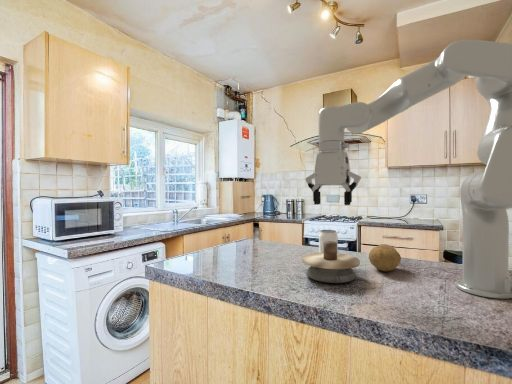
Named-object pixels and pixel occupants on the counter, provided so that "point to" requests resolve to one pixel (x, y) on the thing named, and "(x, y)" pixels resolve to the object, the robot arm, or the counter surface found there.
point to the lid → (331, 258)
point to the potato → (384, 257)
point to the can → (327, 238)
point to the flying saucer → (331, 275)
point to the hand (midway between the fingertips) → (331, 204)
